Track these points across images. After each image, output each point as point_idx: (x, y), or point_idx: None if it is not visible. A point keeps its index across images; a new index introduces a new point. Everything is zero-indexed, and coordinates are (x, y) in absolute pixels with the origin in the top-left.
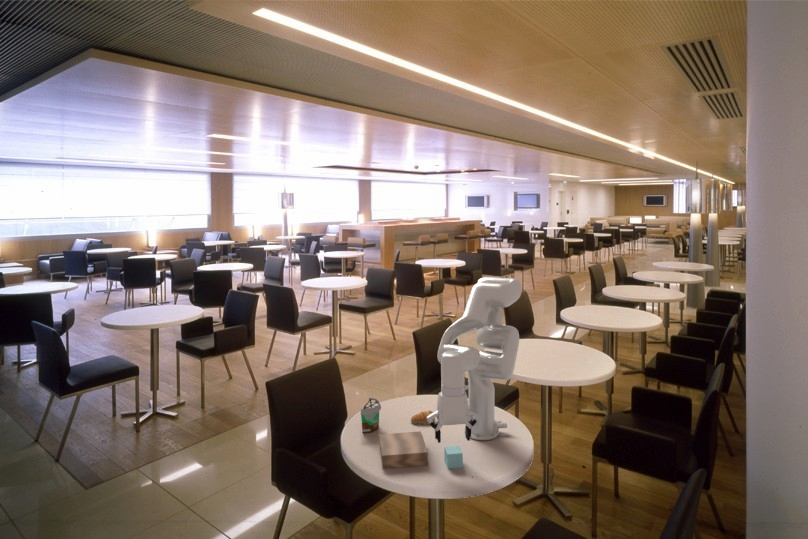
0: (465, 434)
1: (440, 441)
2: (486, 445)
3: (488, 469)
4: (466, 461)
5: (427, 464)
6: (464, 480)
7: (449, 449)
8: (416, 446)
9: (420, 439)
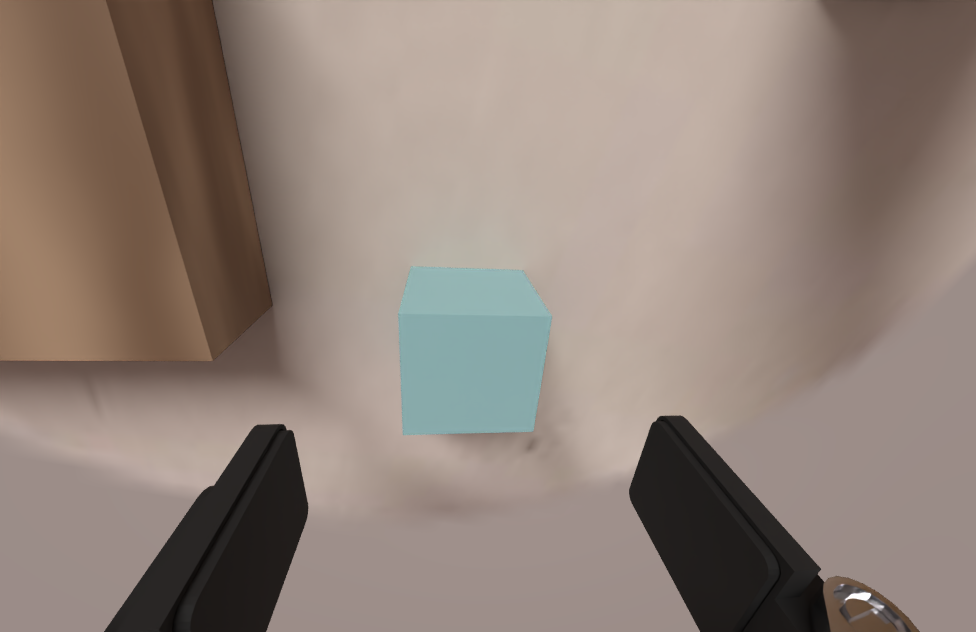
0: (669, 441)
1: (302, 526)
2: (826, 93)
3: (642, 398)
4: (561, 302)
5: (267, 306)
6: (479, 467)
7: (439, 367)
8: (41, 220)
9: (52, 4)
